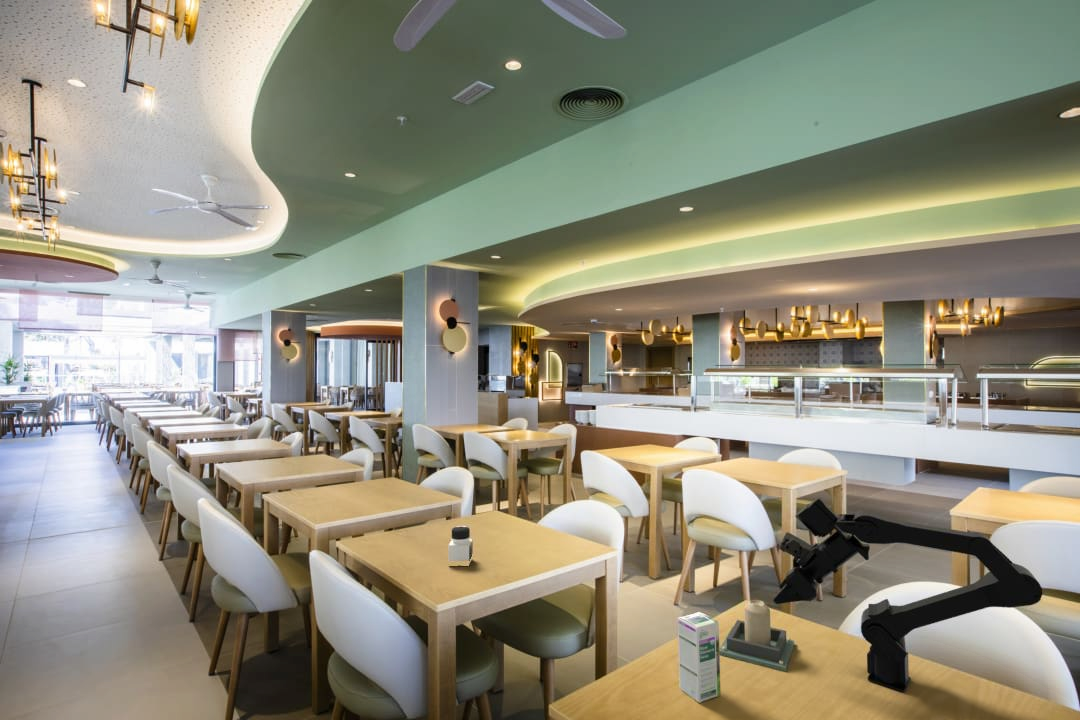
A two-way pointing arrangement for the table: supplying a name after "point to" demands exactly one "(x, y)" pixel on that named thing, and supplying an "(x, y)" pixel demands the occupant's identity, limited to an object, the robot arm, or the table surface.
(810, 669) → the table surface
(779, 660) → the header socket
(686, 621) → the syrup box
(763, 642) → the candle
